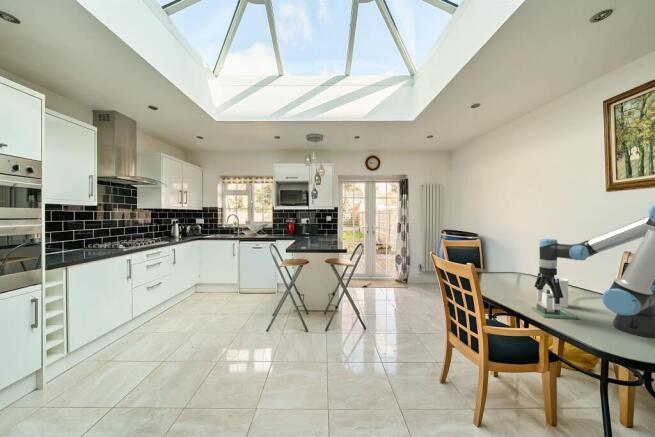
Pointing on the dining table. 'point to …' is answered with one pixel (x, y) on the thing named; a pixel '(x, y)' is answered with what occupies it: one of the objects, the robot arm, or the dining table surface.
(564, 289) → the cup
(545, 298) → the plug
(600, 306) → the dining table surface
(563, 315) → the header board
